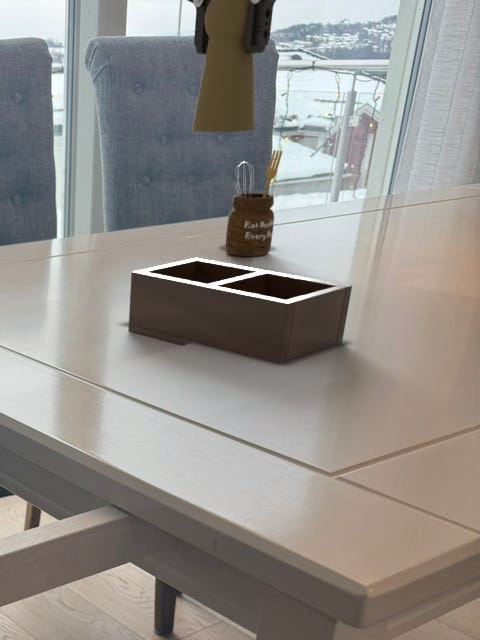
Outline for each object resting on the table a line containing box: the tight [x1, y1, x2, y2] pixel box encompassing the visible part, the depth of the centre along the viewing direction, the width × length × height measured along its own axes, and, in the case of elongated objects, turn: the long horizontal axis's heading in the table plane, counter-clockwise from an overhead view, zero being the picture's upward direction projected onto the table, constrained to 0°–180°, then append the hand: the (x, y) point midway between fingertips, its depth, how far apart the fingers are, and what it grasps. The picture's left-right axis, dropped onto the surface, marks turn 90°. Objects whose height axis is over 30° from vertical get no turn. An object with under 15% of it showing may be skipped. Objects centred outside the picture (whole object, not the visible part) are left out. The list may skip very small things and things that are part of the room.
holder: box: [127, 257, 353, 364], centre depth 88 cm, size 10×18×6 cm, turn 40°
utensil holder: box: [224, 149, 283, 258], centre depth 121 cm, size 6×6×12 cm
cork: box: [191, 0, 255, 133], centre depth 89 cm, size 6×6×11 cm
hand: (229, 52), depth 89 cm, fingers closed on cork, 5 cm apart
